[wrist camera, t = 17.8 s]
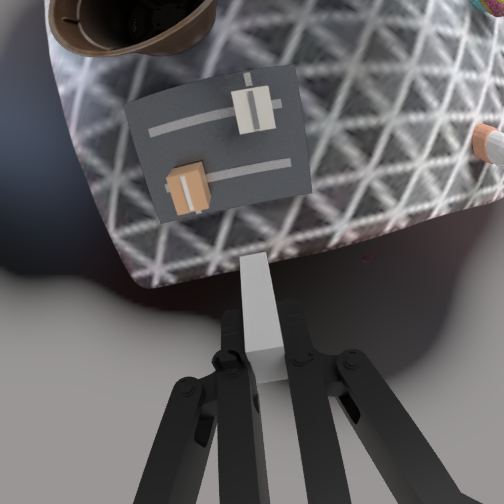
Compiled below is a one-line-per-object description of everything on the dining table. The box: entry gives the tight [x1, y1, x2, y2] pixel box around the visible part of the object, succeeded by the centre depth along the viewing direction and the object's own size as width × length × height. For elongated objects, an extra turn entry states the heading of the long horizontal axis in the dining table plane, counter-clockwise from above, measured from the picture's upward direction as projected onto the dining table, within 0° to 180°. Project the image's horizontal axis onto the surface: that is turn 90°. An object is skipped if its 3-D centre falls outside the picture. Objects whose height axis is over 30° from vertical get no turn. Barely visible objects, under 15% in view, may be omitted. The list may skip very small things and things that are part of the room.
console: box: [123, 65, 312, 224], centre depth 33 cm, size 18×22×2 cm
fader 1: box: [166, 162, 211, 215], centre depth 32 cm, size 5×4×4 cm
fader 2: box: [231, 86, 276, 134], centre depth 28 cm, size 5×4×4 cm
